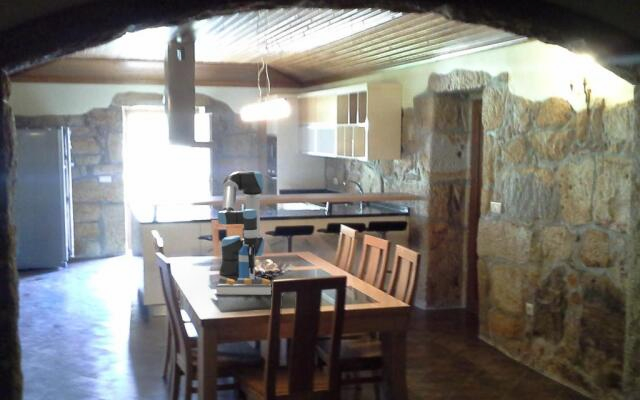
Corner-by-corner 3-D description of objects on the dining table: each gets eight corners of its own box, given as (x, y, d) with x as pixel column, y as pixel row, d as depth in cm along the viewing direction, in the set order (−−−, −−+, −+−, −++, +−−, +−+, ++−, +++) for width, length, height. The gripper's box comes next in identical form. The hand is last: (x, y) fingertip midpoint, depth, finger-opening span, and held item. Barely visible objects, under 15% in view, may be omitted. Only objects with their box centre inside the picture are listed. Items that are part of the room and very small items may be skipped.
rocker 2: (237, 281, 387) (238, 277, 387) (252, 281, 387) (252, 278, 387) (236, 283, 382) (236, 279, 382) (251, 283, 382) (251, 280, 382)
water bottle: (240, 286, 399) (239, 243, 397) (237, 282, 408) (237, 241, 406) (256, 285, 402) (255, 243, 399) (253, 281, 411) (253, 240, 408)
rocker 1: (220, 279, 387) (220, 276, 387) (233, 283, 387) (234, 280, 387) (218, 281, 382) (219, 278, 382) (232, 285, 382) (233, 281, 382)
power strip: (219, 290, 390) (219, 281, 390) (272, 290, 390) (272, 281, 390) (216, 294, 380) (216, 285, 380) (270, 294, 380) (270, 285, 380)
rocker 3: (255, 279, 387) (256, 276, 387) (269, 283, 387) (270, 280, 387) (254, 281, 382) (255, 278, 382) (268, 285, 382) (269, 282, 382)
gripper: (245, 235, 388) (246, 276, 391) (242, 239, 375) (244, 281, 377) (258, 235, 388) (259, 276, 391) (256, 238, 375) (257, 281, 377)
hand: (252, 278), depth 384 cm, fingers closed
